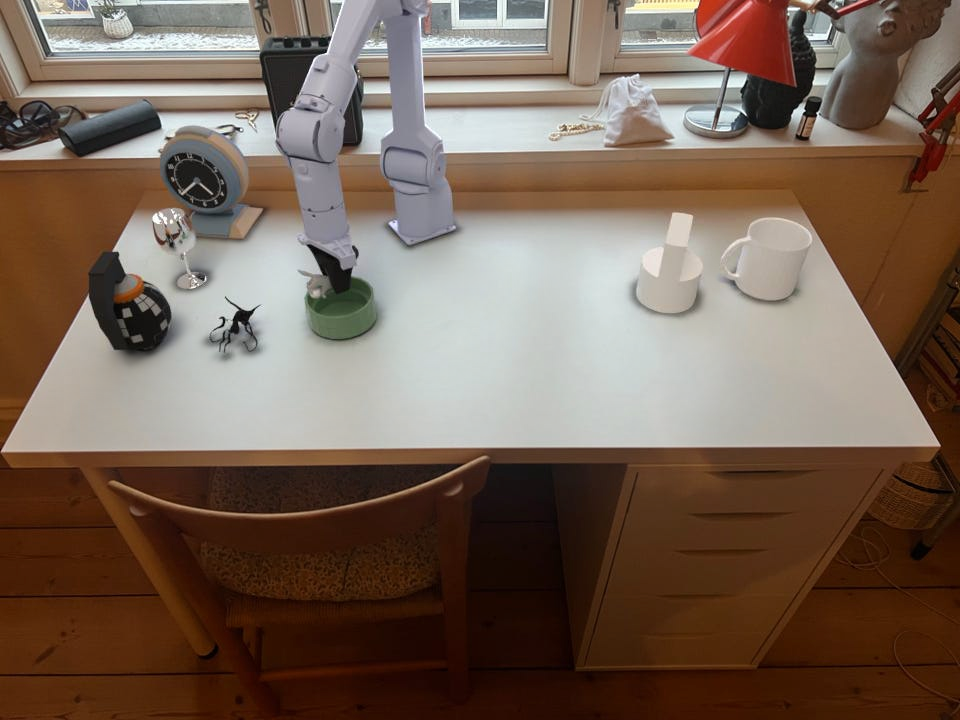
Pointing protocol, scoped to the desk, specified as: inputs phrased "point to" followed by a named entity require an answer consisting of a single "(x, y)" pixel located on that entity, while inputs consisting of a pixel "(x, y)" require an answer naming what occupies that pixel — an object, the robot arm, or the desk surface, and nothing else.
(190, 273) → the wineglass
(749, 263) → the mug
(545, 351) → the desk surface
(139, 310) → the grenade
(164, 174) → the alarm clock
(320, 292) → the dog figurine
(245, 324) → the creature
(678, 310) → the cylinder with rectangular tab
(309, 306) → the bowl
